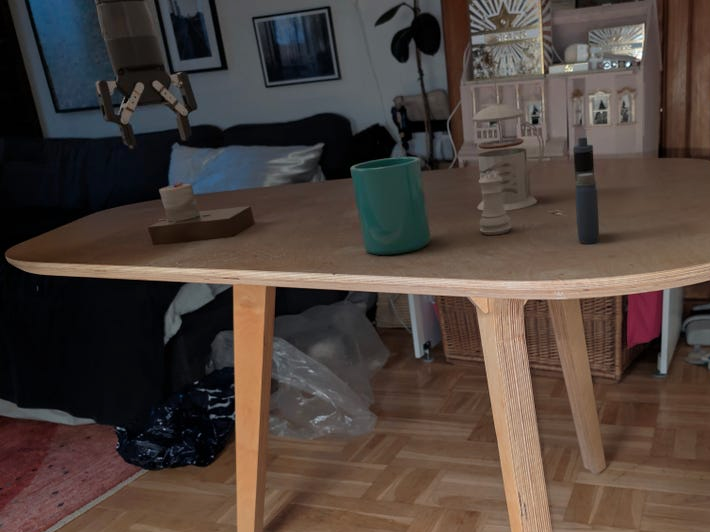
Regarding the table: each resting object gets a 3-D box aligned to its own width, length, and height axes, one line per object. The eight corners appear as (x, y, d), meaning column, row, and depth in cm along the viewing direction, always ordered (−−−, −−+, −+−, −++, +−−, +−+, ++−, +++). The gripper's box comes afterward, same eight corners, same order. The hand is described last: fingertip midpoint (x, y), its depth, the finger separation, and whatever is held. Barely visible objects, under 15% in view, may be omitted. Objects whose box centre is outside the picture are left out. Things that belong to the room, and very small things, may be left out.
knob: (192, 219, 117) (183, 186, 115) (162, 222, 117) (152, 189, 115) (204, 212, 122) (195, 180, 120) (175, 216, 122) (166, 184, 120)
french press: (488, 198, 120) (471, 38, 110) (554, 195, 116) (542, 29, 106) (468, 212, 111) (447, 40, 101) (538, 209, 107) (524, 30, 97)
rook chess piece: (494, 226, 100) (488, 169, 97) (518, 228, 97) (512, 169, 94) (473, 234, 97) (466, 175, 94) (497, 236, 94) (490, 176, 91)
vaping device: (597, 232, 90) (592, 136, 85) (600, 243, 85) (595, 141, 80) (577, 234, 90) (571, 138, 86) (578, 245, 86) (572, 143, 81)
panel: (149, 245, 117) (143, 226, 115) (176, 231, 126) (171, 213, 125) (233, 236, 115) (228, 217, 114) (254, 222, 124) (250, 205, 123)
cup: (443, 231, 101) (432, 151, 97) (421, 254, 90) (407, 165, 86) (384, 235, 103) (371, 157, 99) (355, 258, 92) (339, 171, 88)
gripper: (87, 37, 102) (122, 152, 108) (184, 30, 110) (211, 137, 116) (74, 41, 107) (108, 151, 114) (167, 35, 115) (194, 137, 122)
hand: (160, 144), depth 115 cm, fingers open, 8 cm apart
